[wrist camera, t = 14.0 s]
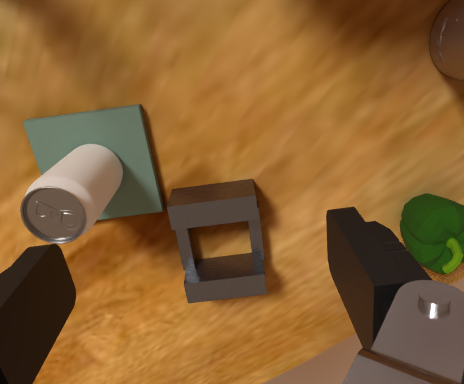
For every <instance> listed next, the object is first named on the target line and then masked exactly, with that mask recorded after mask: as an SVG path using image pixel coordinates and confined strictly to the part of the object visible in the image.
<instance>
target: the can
mask: <svg viewBox="0 0 464 384" xmlns="http://www.w3.org/2000/svg"><path fill="white" fill-rule="evenodd" d="M122 177H123V169H122V165H121V163H120V161H119V159H118V157H117V156H116V155H115V154H114V153H113V152H112V151H111V150H109V149H108V148H106V147H104V146H101V145H97V144H85V145H82V146H79V147H77V148H76V149H74V150H73V151H72V152H70V153H69V154H68V155H67V156H65V157H64V158H63V159H62V160H60V161H59V162H58V163H57V164H55V165H54V166H53V167H52V168H50V169H49V170H48V171H47V172H45V173H44V174H43V175H42V176H41V177H39V178H38V179H37V180H36V181H35V182H34V183H33V184H32V185H31V186H30V187H29V188H28V190H27V192H26V195H25V197H24V199H23V201H22V203H21V209H20V212H21V218H22V220H23V223H24V225H25V226H26V228H27V229H28V230H29V231H30V232H31V233H32V234H33V235H34V236H36V237H37V238H39V239H41V240H43V241H46V242H49V243H54V244H64V243H69V242H72V241H74V240H75V239H77V238H78V237H80V236H82V235H84V234H85V233H86V232H88V231H89V230H90V229H91V228H92V226H93V225H94V224H95V222H96V221H97V219H98V218H99V216H100V215H101V213H102V212H103V210H104V209H105V207H106V206H107V204H108V203H109V201H110V200H111V198H112V197H113V195H114V194H115V192H116V191H117V189H118V188H119V186H120V184H121V181H122Z"/></svg>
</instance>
